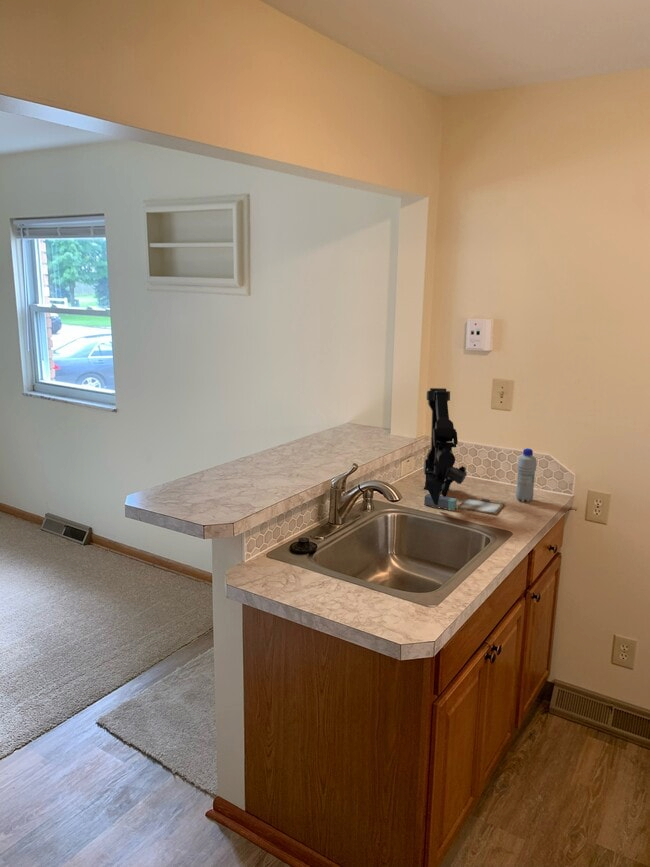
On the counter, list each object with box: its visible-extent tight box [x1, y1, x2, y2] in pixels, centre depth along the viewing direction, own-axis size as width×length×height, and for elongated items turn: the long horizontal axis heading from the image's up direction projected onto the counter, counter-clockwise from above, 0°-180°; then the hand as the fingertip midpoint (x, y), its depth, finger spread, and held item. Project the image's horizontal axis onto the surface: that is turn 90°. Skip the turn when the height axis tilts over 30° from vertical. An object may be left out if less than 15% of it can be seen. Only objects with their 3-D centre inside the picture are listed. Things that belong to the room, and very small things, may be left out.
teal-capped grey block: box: [423, 493, 458, 511], centre depth 242 cm, size 11×4×4 cm, turn 61°
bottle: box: [515, 448, 537, 503], centre depth 247 cm, size 7×7×20 cm
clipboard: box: [457, 496, 506, 516], centre depth 243 cm, size 14×12×1 cm
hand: (440, 501), depth 242 cm, fingers open, 9 cm apart
